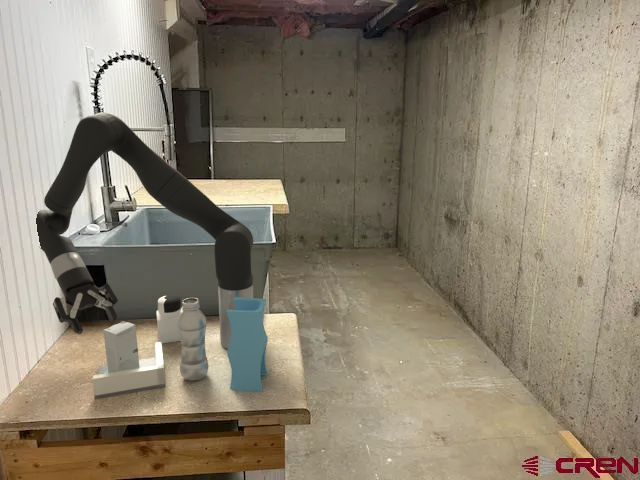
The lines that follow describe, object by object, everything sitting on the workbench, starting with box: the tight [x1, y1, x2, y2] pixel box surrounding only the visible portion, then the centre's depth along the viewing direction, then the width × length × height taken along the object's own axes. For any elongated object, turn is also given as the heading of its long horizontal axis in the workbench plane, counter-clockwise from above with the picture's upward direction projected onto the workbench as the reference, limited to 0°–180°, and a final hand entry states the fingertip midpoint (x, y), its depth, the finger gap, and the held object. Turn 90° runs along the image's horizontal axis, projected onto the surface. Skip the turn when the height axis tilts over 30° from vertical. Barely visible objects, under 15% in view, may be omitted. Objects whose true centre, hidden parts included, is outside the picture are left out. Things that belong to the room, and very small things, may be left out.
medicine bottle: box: [155, 294, 184, 345], centre depth 133 cm, size 7×7×12 cm
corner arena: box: [92, 341, 166, 399], centre depth 114 cm, size 15×13×5 cm
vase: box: [226, 297, 269, 393], centre depth 111 cm, size 8×8×20 cm
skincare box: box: [102, 320, 140, 373], centre depth 113 cm, size 6×4×12 cm
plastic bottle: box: [178, 297, 210, 382], centre depth 113 cm, size 6×7×20 cm
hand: (98, 327), depth 120 cm, fingers open, 8 cm apart
